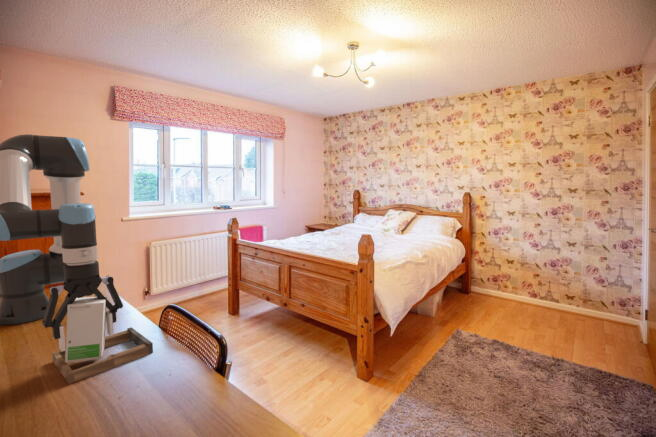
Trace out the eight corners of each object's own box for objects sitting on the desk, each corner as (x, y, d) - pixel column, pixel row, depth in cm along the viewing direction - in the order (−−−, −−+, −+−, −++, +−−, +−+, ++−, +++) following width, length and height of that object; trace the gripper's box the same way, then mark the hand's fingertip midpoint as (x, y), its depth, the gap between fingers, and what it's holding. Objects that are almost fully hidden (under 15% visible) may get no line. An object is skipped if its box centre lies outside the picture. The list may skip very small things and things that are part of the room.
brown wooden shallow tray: (52, 361, 92) (52, 351, 92) (131, 336, 107) (131, 327, 107) (68, 384, 82) (67, 372, 82) (152, 352, 98) (152, 342, 97)
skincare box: (64, 364, 86) (64, 305, 85) (70, 352, 92) (70, 297, 91) (103, 358, 90) (104, 302, 89) (106, 347, 96) (107, 294, 95)
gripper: (26, 273, 77) (35, 363, 80) (133, 256, 95) (138, 330, 98) (20, 268, 82) (29, 353, 85) (123, 252, 100) (127, 323, 102)
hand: (87, 341), depth 91 cm, fingers closed on skincare box, 10 cm apart
